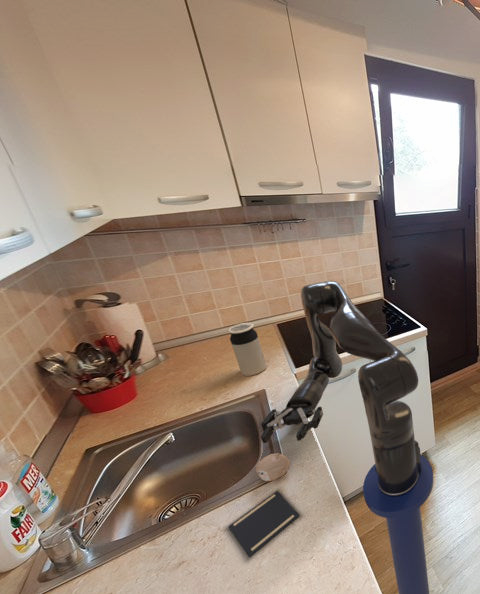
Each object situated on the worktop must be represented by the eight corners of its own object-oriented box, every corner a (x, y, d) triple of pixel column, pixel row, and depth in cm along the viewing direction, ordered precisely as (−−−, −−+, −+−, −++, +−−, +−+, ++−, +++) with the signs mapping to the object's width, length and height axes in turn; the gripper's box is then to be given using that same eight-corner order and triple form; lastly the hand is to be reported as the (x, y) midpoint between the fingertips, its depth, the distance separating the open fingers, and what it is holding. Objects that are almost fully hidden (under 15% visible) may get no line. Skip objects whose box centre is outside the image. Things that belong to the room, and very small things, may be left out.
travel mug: (264, 373, 120) (251, 330, 113) (238, 378, 118) (223, 334, 111) (268, 362, 127) (256, 320, 120) (245, 366, 125) (231, 324, 118)
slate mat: (277, 491, 77) (276, 490, 77) (299, 516, 72) (299, 514, 72) (228, 527, 70) (227, 526, 70) (249, 557, 64) (248, 556, 64)
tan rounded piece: (265, 492, 77) (256, 467, 74) (256, 475, 81) (248, 451, 78) (294, 474, 82) (287, 450, 79) (285, 459, 86) (278, 436, 83)
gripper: (279, 389, 97) (248, 430, 82) (328, 386, 98) (306, 426, 83) (284, 409, 100) (255, 452, 85) (332, 406, 101) (312, 448, 86)
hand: (281, 439), depth 84 cm, fingers open, 8 cm apart
